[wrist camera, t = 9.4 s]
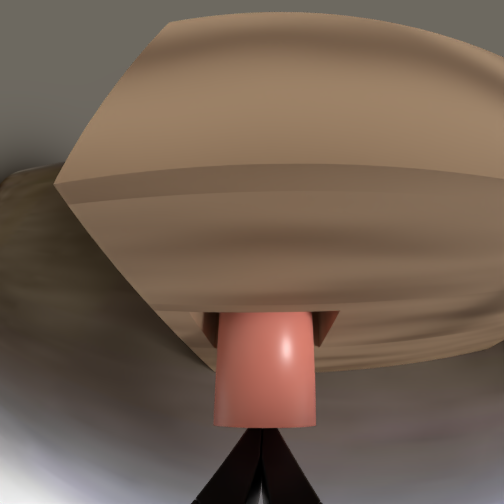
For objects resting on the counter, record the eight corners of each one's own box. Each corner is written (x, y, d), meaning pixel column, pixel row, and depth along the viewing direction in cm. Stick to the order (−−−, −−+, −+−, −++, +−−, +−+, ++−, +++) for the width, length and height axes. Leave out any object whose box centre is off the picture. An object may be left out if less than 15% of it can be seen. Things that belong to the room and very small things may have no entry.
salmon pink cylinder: (309, 425, 9) (323, 426, 7) (222, 425, 9) (204, 425, 7) (302, 250, 13) (308, 204, 10) (230, 252, 13) (220, 206, 11)
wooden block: (486, 349, 15) (650, 217, 3) (215, 372, 17) (53, 184, 4) (461, 248, 20) (560, 86, 7) (223, 252, 21) (169, 22, 8)
